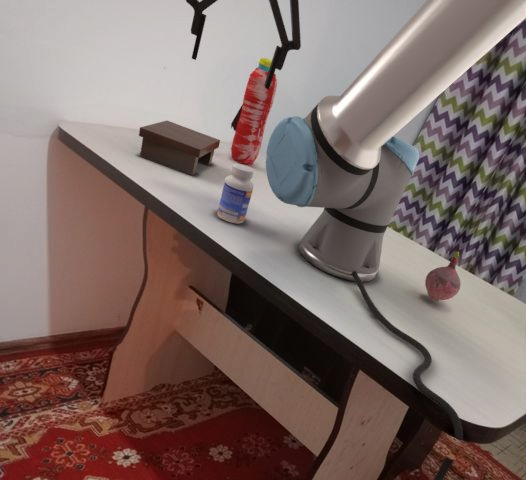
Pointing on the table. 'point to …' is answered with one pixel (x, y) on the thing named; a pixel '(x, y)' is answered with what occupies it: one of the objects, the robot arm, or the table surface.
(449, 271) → the vegetable
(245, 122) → the water bottle
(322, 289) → the table surface
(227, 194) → the pill bottle
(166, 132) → the stand
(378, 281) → the table surface
